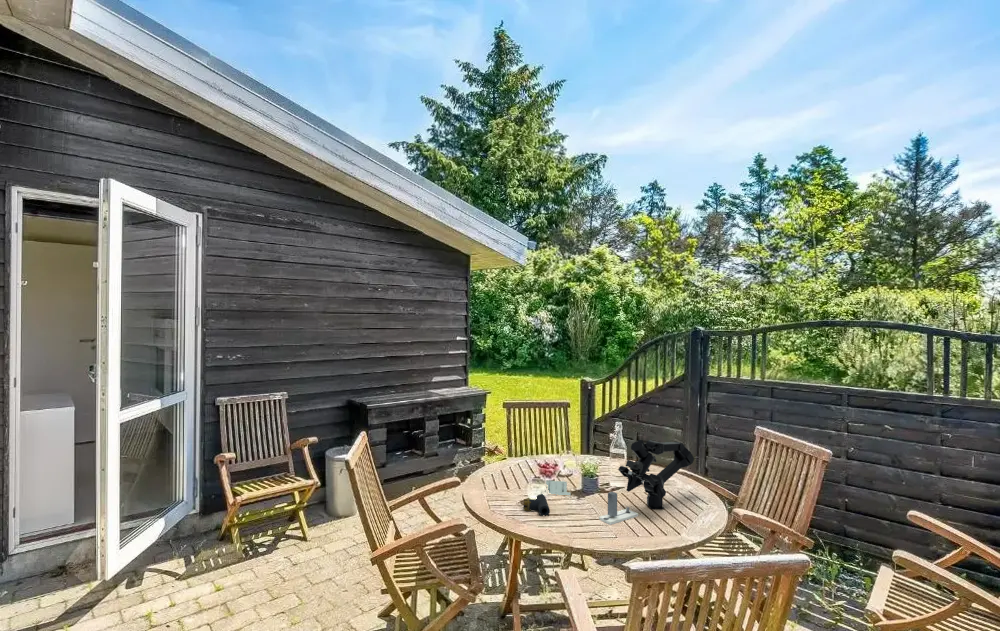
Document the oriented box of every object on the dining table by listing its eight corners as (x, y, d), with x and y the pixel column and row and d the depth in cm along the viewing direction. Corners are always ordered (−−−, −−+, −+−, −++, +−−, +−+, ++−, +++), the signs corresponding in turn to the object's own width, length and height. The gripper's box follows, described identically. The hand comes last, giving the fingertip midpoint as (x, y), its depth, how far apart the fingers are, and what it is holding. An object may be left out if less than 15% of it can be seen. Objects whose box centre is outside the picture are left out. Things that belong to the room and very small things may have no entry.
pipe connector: (525, 505, 225) (522, 493, 240) (525, 516, 225) (522, 504, 240) (550, 505, 226) (545, 493, 241) (549, 517, 225) (545, 504, 240)
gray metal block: (612, 514, 224) (612, 491, 224) (617, 516, 221) (617, 493, 221) (607, 516, 222) (607, 492, 222) (612, 518, 219) (612, 494, 220)
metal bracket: (542, 476, 265) (570, 478, 263) (543, 485, 266) (570, 487, 264) (541, 492, 251) (570, 494, 249) (541, 502, 253) (570, 504, 251)
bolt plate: (626, 511, 231) (626, 503, 231) (638, 516, 225) (638, 508, 226) (598, 519, 222) (598, 511, 222) (609, 524, 216) (609, 517, 216)
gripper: (620, 449, 238) (604, 475, 232) (651, 458, 222) (634, 486, 216) (632, 462, 242) (616, 488, 236) (662, 472, 226) (646, 501, 220)
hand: (627, 491), depth 227 cm, fingers closed
